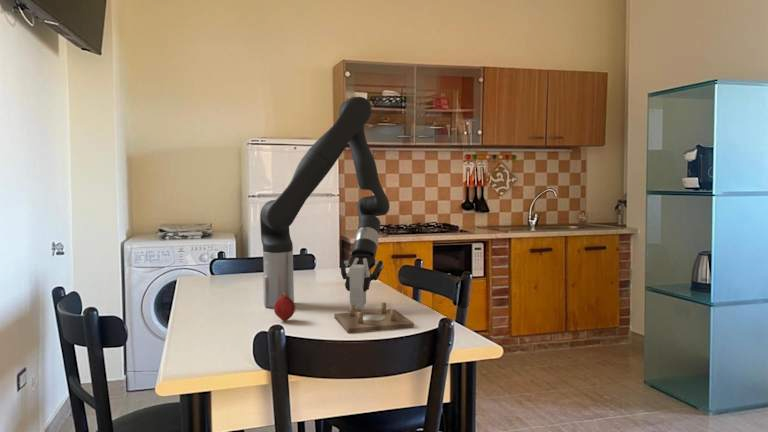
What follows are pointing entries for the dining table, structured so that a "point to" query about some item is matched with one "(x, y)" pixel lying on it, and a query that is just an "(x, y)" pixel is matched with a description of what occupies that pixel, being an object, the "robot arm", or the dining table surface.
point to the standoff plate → (372, 320)
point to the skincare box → (357, 285)
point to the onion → (284, 307)
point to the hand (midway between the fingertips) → (356, 289)
